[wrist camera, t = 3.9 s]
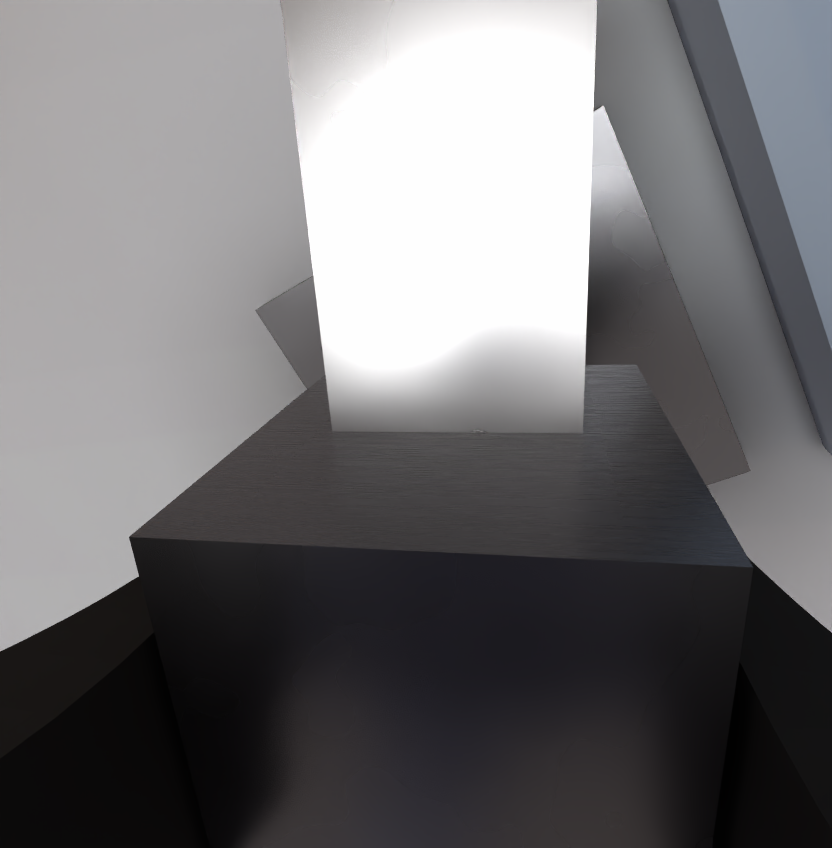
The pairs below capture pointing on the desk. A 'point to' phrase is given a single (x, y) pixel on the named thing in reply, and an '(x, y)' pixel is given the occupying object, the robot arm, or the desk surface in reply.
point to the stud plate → (597, 316)
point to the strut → (450, 487)
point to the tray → (777, 156)
